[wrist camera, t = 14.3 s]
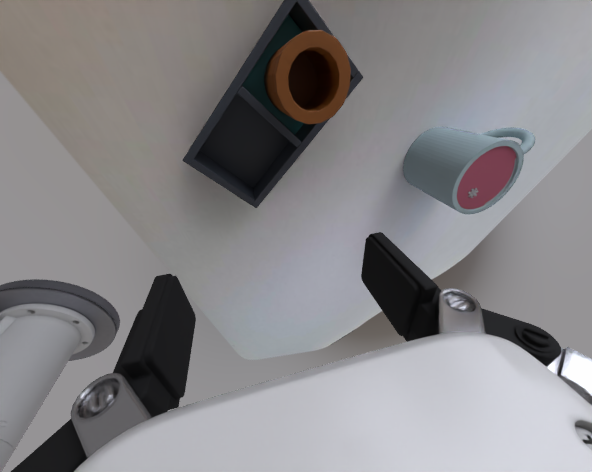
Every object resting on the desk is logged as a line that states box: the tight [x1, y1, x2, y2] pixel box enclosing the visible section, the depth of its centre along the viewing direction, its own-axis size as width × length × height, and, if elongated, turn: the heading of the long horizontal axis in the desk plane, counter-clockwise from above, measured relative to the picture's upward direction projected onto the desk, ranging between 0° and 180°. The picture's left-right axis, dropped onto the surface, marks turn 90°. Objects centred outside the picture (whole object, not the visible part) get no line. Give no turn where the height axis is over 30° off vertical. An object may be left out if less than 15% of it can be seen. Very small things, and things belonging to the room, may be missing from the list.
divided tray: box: [183, 0, 363, 208], centre depth 26 cm, size 10×18×5 cm, turn 138°
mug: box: [403, 127, 535, 214], centre depth 32 cm, size 14×9×10 cm
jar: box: [264, 30, 351, 124], centre depth 22 cm, size 6×6×9 cm
